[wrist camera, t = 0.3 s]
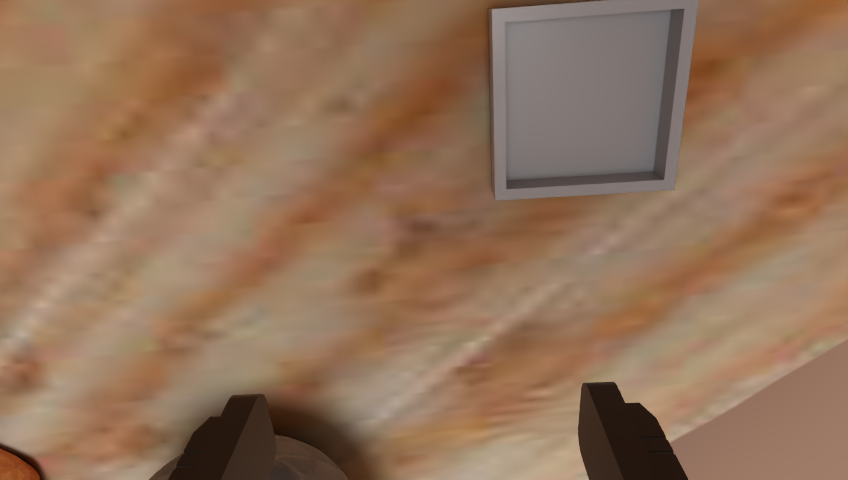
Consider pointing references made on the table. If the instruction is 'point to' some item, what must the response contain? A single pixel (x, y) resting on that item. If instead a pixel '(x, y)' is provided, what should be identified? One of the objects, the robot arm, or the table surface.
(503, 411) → the table surface
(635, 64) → the tray
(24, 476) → the bread
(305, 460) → the bowl
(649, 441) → the robot arm
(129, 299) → the table surface
